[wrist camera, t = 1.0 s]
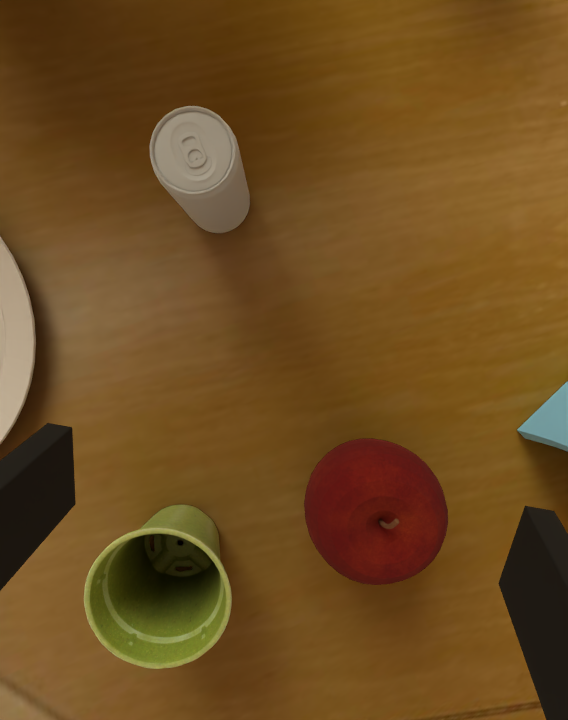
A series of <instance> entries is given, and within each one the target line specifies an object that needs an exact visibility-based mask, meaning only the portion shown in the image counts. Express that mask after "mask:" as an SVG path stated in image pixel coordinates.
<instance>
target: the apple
mask: <svg viewBox="0 0 568 720" xmlns="http://www.w3.org/2000/svg"><path fill="white" fill-rule="evenodd" d="M304 507H305V518H306V524H307V527H308V531H309V534H310V537H311V539H312V541H313V543H314V545H315V547H316V549H317V550H318V551H319V553H320V554H321V555H322V557H323V558H324V559H325V560H326V562H327V563H328V564H329V565H330V566H332V567H333V568H334V569H335V570H336V571H337V572H338V573H340V574H342V575H343V576H345V577H347V578H349V579H351V580H354V581H357V582H360V583H363V584H372V585H381V584H391V583H395V582H399V581H403V580H406V579H408V578H410V577H412V576H414V575H416V574H417V573H419V572H420V571H422V570H423V569H425V568H426V567H427V566H428V565H429V564H430V563H431V562H432V561H433V560H434V558H435V557H436V555H437V554H438V552H439V551H440V548H441V546H442V543H443V541H444V538H445V536H446V531H447V525H448V510H447V506H446V502H445V497H444V494H443V490H442V488H441V486H440V484H439V481H438V479H437V478H436V476H435V475H434V473H433V472H432V471H431V469H430V468H429V467H428V466H427V464H426V463H425V462H424V461H422V460H421V459H420V458H419V457H418V456H417V455H416V454H414V453H412V452H411V451H409V450H407V449H406V448H404V447H402V446H400V445H397V444H394V443H391V442H389V441H384V440H377V439H357V440H352V441H348V442H346V443H343V444H341V445H339V446H337V447H335V448H334V449H333V450H331V451H330V452H328V453H327V454H326V455H325V456H324V458H323V459H322V460H321V461H320V462H319V463H318V464H317V466H316V467H315V469H314V471H313V472H312V474H311V477H310V480H309V482H308V485H307V489H306V494H305V502H304Z"/></svg>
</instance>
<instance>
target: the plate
mask: <svg viewBox="0 0 568 720" xmlns="http://www.w3.org/2000/svg"><path fill="white" fill-rule="evenodd" d="M35 349H36V335H35V322H34V315H33V311H32V306H31V301H30V297H29V294H28V291H27V288H26V285H25V282H24V279H23V276H22V274H21V272H20V270H19V268H18V265H17V263H16V261H15V259H14V257H13V255H12V254H11V252H10V251H9V249H8V247H7V246H6V244H5V243H4V241H3V240H2V238H1V237H0V444H1V443H2V442H3V441H4V439H5V438H6V436H7V435H8V433H9V432H10V430H11V429H12V427H13V426H14V424H15V422H16V420H17V418H18V416H19V414H20V412H21V410H22V408H23V406H24V404H25V401H26V397H27V394H28V391H29V388H30V385H31V381H32V375H33V370H34V364H35Z"/></svg>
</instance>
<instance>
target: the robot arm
mask: <svg viewBox="0 0 568 720" xmlns="http://www.w3.org/2000/svg"><path fill="white" fill-rule="evenodd" d="M74 505H75V484H74V460H73V437H72V427H67V426H62V425H56V424H50V423H47V424H46V425H45V426H44V427H42V428H41V429H40V430H38V431H37V432H36V433H35V434H33V435H32V436H31V437H30V438H28V439H27V440H26V441H25V442H23V443H22V444H21V445H20V446H18V447H17V448H16V449H14V450H13V451H12V452H11V453H9V454H8V455H7V456H6V457H4V458H3V459H2V460H1V461H0V590H1V589H2V588H3V587H4V586H5V585H6V584H7V582H8V581H9V580H10V579H11V578H12V577H13V575H14V574H15V573H16V572H17V571H18V570H19V569H20V567H21V566H22V565H23V564H24V563H25V562H26V560H27V559H28V558H29V557H30V556H31V555H32V554H33V552H34V551H35V550H36V549H37V548H38V547H39V545H40V544H41V543H42V542H43V541H44V540H45V538H46V537H47V536H48V535H49V534H50V533H51V532H52V530H53V529H54V528H55V527H56V526H57V525H58V523H59V522H60V521H61V520H62V519H63V518H64V517H65V515H66V514H67V513H68V512H69V511H70V510H71V508H72V507H73V506H74ZM499 586H500V589H501V592H502V594H503V597H504V600H505V603H506V606H507V609H508V612H509V614H510V617H511V620H512V623H513V626H514V629H515V631H516V634H517V637H518V640H519V643H520V646H521V649H522V651H523V654H524V657H525V660H526V663H527V666H528V669H529V671H530V674H531V677H532V680H533V683H534V686H535V688H536V691H537V694H538V697H539V700H540V703H541V706H542V708H543V711H544V714H545V717H546V720H568V534H567V532H566V530H565V529H564V527H563V525H562V524H561V522H560V520H559V519H558V517H557V515H556V514H555V512H554V511H552V510H546V509H540V508H534V507H529V506H525V508H524V511H523V514H522V516H521V519H520V522H519V525H518V528H517V531H516V534H515V537H514V540H513V543H512V546H511V549H510V551H509V554H508V557H507V560H506V563H505V566H504V569H503V572H502V575H501V578H500V581H499Z"/></svg>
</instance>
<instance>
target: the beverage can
mask: <svg viewBox="0 0 568 720" xmlns="http://www.w3.org/2000/svg"><path fill="white" fill-rule="evenodd" d="M150 158H151V163H152V166H153V170H154V173H155V174H156V176H157V178H158V180H159V181H160V183H161V184H162V185H163V187H164V188H165V189H166V190H167V191H168V192H169V194H170V195H171V196H172V197H173V198H174V199H175V200H176V202H177V203H178V204H179V205H180V206H181V207H182V208H183V210H184V211H185V212H186V213H187V214H188V215H189V216H190V218H191V219H192V220H193V221H194V222H195V223H196V224H197V225H198V226H199V227H201V228H202V229H204V230H206V231H209V232H213V233H224V232H228V231H231V230H233V229H235V228H236V227H238V226H239V225H240V224H241V223H242V222H243V221H244V219H245V217H246V216H247V214H248V210H249V207H250V195H249V191H248V186H247V182H246V177H245V173H244V168H243V164H242V160H241V155H240V151H239V147H238V143H237V140H236V137H235V135H234V134H233V132H232V130H231V128H230V127H229V126H228V125H227V123H226V122H225V121H224V120H223V119H222V118H221V117H220V116H219V115H217V114H216V113H214V112H212V111H211V110H209V109H206V108H202V107H199V106H185V107H181V108H178V109H175V110H173V111H171V112H170V113H168V114H166V115H165V116H164V117H163V118H162V119H161V120H160V121H159V122H158V124H157V126H156V127H155V129H154V131H153V133H152V137H151V141H150Z"/></svg>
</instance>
